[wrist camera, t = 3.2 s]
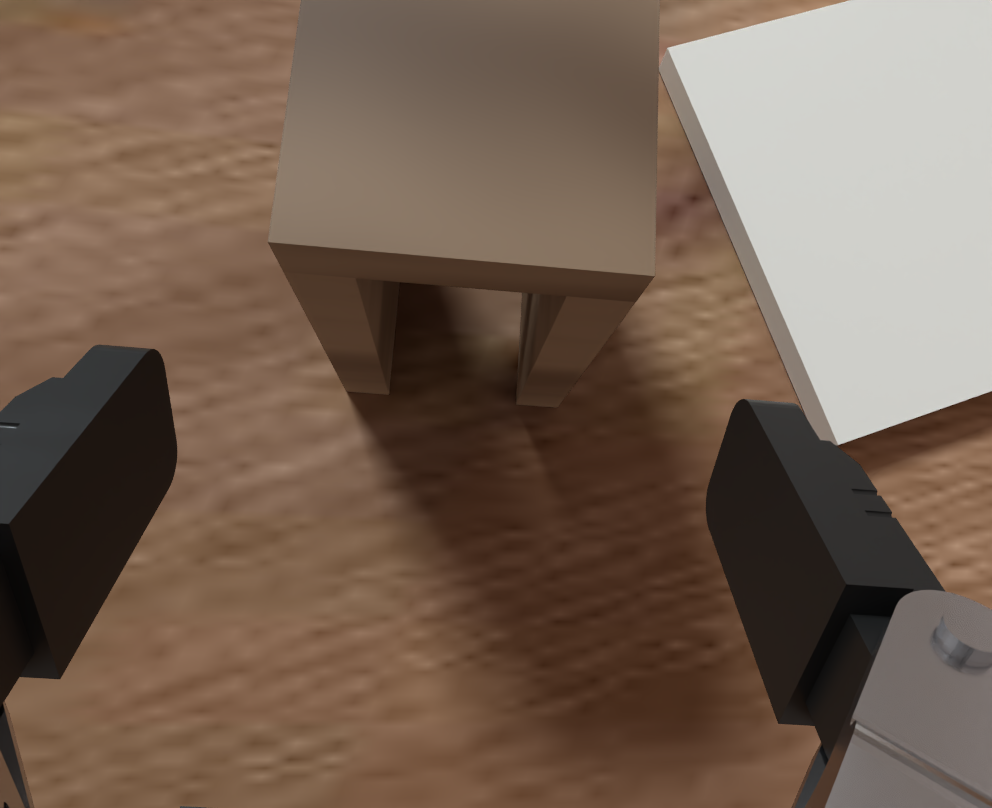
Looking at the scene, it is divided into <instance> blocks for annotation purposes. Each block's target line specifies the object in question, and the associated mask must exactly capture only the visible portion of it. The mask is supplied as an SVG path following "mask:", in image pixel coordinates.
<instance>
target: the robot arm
mask: <svg viewBox="0 0 992 808" xmlns="http://www.w3.org/2000/svg"><path fill="white" fill-rule="evenodd" d="M176 462H177V441H176V434H175V428H174V422H173V416H172V409H171V403H170V397H169V390H168V384H167V378H166V372H165V366H164V362H163V359H162V357H161V355H160V353H159V352H158V351H157V350H155V349H146V348H134V347H122V346H110V345H96V346H94V347H92V348H91V349H90V350H89V351H88V352H87V353H86V354H85V355H84V356H83V358H82V359H81V360H80V361H79V362H78V363H77V364H76V365H75V366H74V367H73V368H72V369H71V370H70V371H69V372H68V373H67V375H66V376H65V377H64V378H54V377H52V378H50V379H48V380H46V381H45V382H43V383H41V384H39V385H37V386H35V387H33V388H31V389H29V390H27V391H26V392H24V393H22V394H20V395H18V396H16V397H15V398H14V399H13V400H12V401H11V402H10V403H9V404H8V405H7V406H6V407H5V408H4V409H3V410H2V411H1V412H0V808H34V804H33V800H32V796H31V793H30V789H29V785H28V781H27V777H26V774H25V770H24V766H23V762H22V759H21V755H20V751H19V747H18V743H17V740H16V736H15V732H14V728H13V725H12V721H11V717H10V713H9V711H8V708H7V706H6V703H5V699H6V697H7V696H8V694H9V693H10V691H11V689H12V688H13V686H14V685H15V683H16V681H17V680H18V678H19V677H31V678H48V679H61V677H62V675H63V673H64V672H65V670H66V668H67V666H68V664H69V663H70V661H71V659H72V657H73V656H74V654H75V652H76V650H77V649H78V647H79V645H80V643H81V642H82V640H83V638H84V636H85V635H86V633H87V631H88V629H89V628H90V626H91V624H92V622H93V621H94V619H95V617H96V615H97V614H98V612H99V610H100V608H101V607H102V605H103V603H104V601H105V600H106V598H107V596H108V594H109V593H110V591H111V589H112V587H113V586H114V584H115V582H116V580H117V579H118V577H119V575H120V573H121V572H122V570H123V568H124V566H125V565H126V563H127V561H128V559H129V558H130V556H131V554H132V552H133V550H134V549H135V547H136V545H137V543H138V542H139V540H140V538H141V536H142V535H143V533H144V531H145V529H146V528H147V526H148V524H149V522H150V521H151V519H152V517H153V515H154V514H155V512H156V510H157V508H158V507H159V505H160V503H161V501H162V500H163V498H164V496H165V494H166V493H167V491H168V489H169V487H170V485H171V483H172V480H173V477H174V473H175V469H176ZM891 514H892V512H891V510H890V509H889V507H888V506H887V504H886V503H885V501H884V500H883V498H882V497H881V496H877V489H876V488H875V487H874V485H873V484H872V482H871V481H870V479H869V478H868V476H867V475H866V473H865V472H864V470H863V469H862V467H861V466H860V464H858V463H857V462H856V461H855V460H853V459H852V458H851V457H850V456H848V455H847V454H846V453H845V452H843V451H842V450H841V449H840V448H838V447H837V446H836V445H835V444H833V443H832V442H831V441H825V440H820V439H819V437H818V436H817V434H816V432H815V431H814V429H813V428H812V426H811V425H810V423H809V421H808V420H807V418H806V417H805V415H804V414H803V412H802V410H801V409H800V408H799V406H798V405H796V404H794V403H785V402H772V401H760V400H748V399H741V400H740V401H738V402H737V403H736V405H735V406H734V408H733V410H732V413H731V416H730V419H729V422H728V425H727V428H726V432H725V435H724V438H723V441H722V444H721V447H720V450H719V454H718V457H717V460H716V463H715V466H714V469H713V472H712V476H711V479H710V482H709V485H708V490H707V497H706V517H707V523H708V527H709V531H710V533H711V536H712V539H713V542H714V545H715V547H716V550H717V553H718V556H719V559H720V561H721V564H722V567H723V570H724V573H725V575H726V578H727V581H728V584H729V587H730V590H731V592H732V595H733V598H734V601H735V604H736V606H737V609H738V612H739V615H740V618H741V620H742V623H743V626H744V629H745V632H746V634H747V637H748V640H749V643H750V646H751V648H752V651H753V654H754V657H755V660H756V663H757V665H758V668H759V671H760V674H761V677H762V679H763V682H764V685H765V688H766V691H767V693H768V696H769V699H770V702H771V705H772V707H773V710H774V713H775V716H776V719H777V721H778V724H792V725H810V726H815V728H816V730H817V733H818V735H819V738H820V740H821V744H820V745H819V747H818V749H817V751H816V753H815V755H814V756H813V758H812V760H811V763H810V765H809V768H808V770H807V772H806V775H805V777H804V779H803V782H802V784H801V786H800V789H799V791H798V793H797V796H796V798H795V800H794V803H793V805H792V807H791V808H992V610H991V609H989V608H987V607H985V606H983V605H981V604H979V603H978V602H975V601H973V600H970V599H968V598H966V597H963V596H960V595H957V594H953V593H949V592H945V590H944V589H943V587H942V586H941V584H940V583H939V581H938V580H937V578H936V577H935V575H934V574H933V572H932V571H931V569H930V568H929V566H928V565H927V564H926V562H925V561H924V559H923V558H922V556H921V555H920V553H919V552H918V550H917V549H916V547H915V546H914V544H913V543H912V541H911V540H910V538H909V537H908V535H907V534H906V532H905V531H904V529H903V528H902V526H901V525H900V524H899V522H898V521H897V519H896V518H892V516H891ZM180 808H204V807H184V806H180Z"/></svg>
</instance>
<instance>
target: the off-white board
mask: <svg viewBox="0 0 992 808" xmlns="http://www.w3.org/2000/svg"><path fill="white" fill-rule="evenodd" d="M659 72H660V74H661V77H662V79H663V81H664V84H665V86H666V88H667V91H668V93H669V95H670V98H671V100H672V102H673V105H674V107H675V109H676V112H677V114H678V117H679V119H680V121H681V124H682V126H683V128H684V131H685V133H686V135H687V138H688V140H689V142H690V145H691V147H692V149H693V152H694V154H695V157H696V159H697V161H698V164H699V166H700V168H701V171H702V173H703V175H704V178H705V180H706V182H707V185H708V187H709V189H710V192H711V194H712V196H713V199H714V201H715V204H716V206H717V208H718V211H719V213H720V215H721V218H722V220H723V222H724V225H725V227H726V229H727V232H728V234H729V236H730V239H731V241H732V244H733V246H734V248H735V251H736V253H737V255H738V258H739V260H740V262H741V265H742V267H743V269H744V272H745V274H746V276H747V279H748V281H749V284H750V286H751V288H752V291H753V293H754V295H755V298H756V300H757V302H758V305H759V307H760V309H761V312H762V314H763V316H764V319H765V321H766V324H767V326H768V328H769V331H770V333H771V335H772V338H773V340H774V342H775V345H776V347H777V349H778V352H779V354H780V356H781V359H782V361H783V363H784V366H785V368H786V371H787V373H788V375H789V378H790V380H791V382H792V385H793V387H794V389H795V392H796V394H797V396H798V399H799V401H800V403H801V406H802V408H803V411H804V413H805V415H806V418H807V420H808V421H809V423H810V425H811V426H812V428H813V429H814V431H815V432H816V434H817V436H818V437H819V439H820V440H825V441H831V442H832V443H833V444H835V445H836V446H837V445H840V444H843V443H845V442H848V441H851V440H854V439H857V438H860V437H862V436H865V435H868V434H871V433H874V432H877V431H880V430H882V429H885V428H888V427H891V426H894V425H897V424H899V423H902V422H905V421H908V420H911V419H914V418H917V417H919V416H922V415H925V414H928V413H931V412H934V411H936V410H939V409H942V408H945V407H948V406H951V405H954V404H956V403H959V402H962V401H965V400H968V399H971V398H973V397H976V396H979V395H982V394H985V393H988V392H991V391H992V0H850V1H846V2H842V3H838V4H835V5H831V6H827V7H823V8H819V9H815V10H811V11H808V12H804V13H800V14H796V15H792V16H788V17H785V18H781V19H777V20H773V21H769V22H765V23H762V24H758V25H754V26H750V27H746V28H742V29H739V30H735V31H731V32H727V33H723V34H719V35H716V36H712V37H708V38H704V39H700V40H696V41H693V42H689V43H685V44H681V45H677V46H673V47H669V48H667V50H666V53H665V55H664V57H663V59H662V62H661V64H660V66H659Z"/></svg>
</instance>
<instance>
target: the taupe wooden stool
mask: <svg viewBox="0 0 992 808" xmlns="http://www.w3.org/2000/svg"><path fill="white" fill-rule="evenodd" d="M659 15H660V0H301V4H300V11H299V19H298V26H297V33H296V41H295V48H294V55H293V62H292V70H291V77H290V84H289V92H288V99H287V106H286V113H285V121H284V128H283V135H282V143H281V150H280V157H279V164H278V172H277V179H276V186H275V194H274V201H273V208H272V215H271V223H270V230H269V237H268V243H269V245H270V247H271V249H272V251H273V253H274V255H275V257H276V259H277V260H278V262H279V264H280V266H281V268H282V270H283V272H284V274H285V276H286V278H287V279H288V281H289V283H290V285H291V287H292V289H293V291H294V293H295V295H296V297H297V298H298V300H299V302H300V304H301V306H302V308H303V310H304V312H305V314H306V316H307V318H308V319H309V321H310V323H311V325H312V327H313V329H314V331H315V333H316V335H317V337H318V338H319V340H320V342H321V344H322V346H323V348H324V350H325V352H326V354H327V356H328V357H329V359H330V361H331V363H332V365H333V367H334V369H335V371H336V373H337V375H338V376H339V378H340V380H341V382H342V384H343V386H344V388H345V390H346V391H347V392H360V393H373V394H386V395H389V391H390V380H391V370H392V359H393V349H394V338H395V328H396V317H397V307H398V296H399V286H400V282H405V283H417V284H428V285H440V286H452V287H463V288H475V289H487V290H498V291H510V292H522V306H521V323H520V340H519V358H518V375H517V392H516V404H517V405H530V406H543V407H556V408H558V406H559V405H560V404H561V402H562V401H563V399H564V398H565V397H566V395H567V394H568V393H569V391H570V390H571V389H572V387H573V386H574V385H575V383H576V382H577V381H578V379H579V378H580V377H581V375H582V374H583V372H584V371H585V370H586V368H587V367H588V366H589V364H590V363H591V362H592V360H593V359H594V358H595V356H596V355H597V354H598V352H599V351H600V350H601V348H602V347H603V345H604V344H605V343H606V341H607V340H608V339H609V337H610V336H611V335H612V333H613V332H614V331H615V329H616V328H617V327H618V325H619V324H620V322H621V321H622V320H623V318H624V317H625V316H626V314H627V313H628V312H629V310H630V309H631V308H632V306H633V305H634V304H635V302H636V301H637V300H638V298H639V297H640V295H641V294H642V293H643V291H644V290H645V289H646V287H647V286H648V285H649V283H650V282H651V281H652V279H653V278H654V277H655V241H656V184H657V128H658V72H659Z"/></svg>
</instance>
